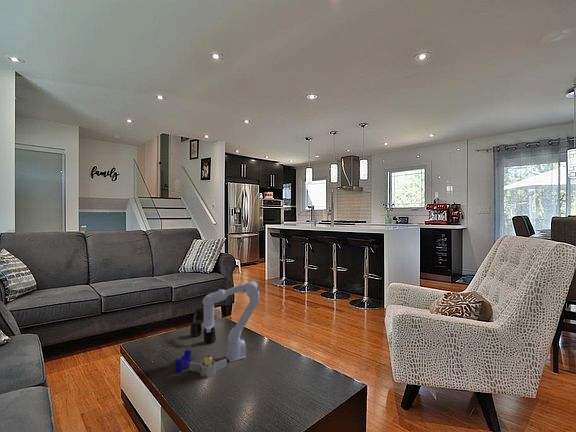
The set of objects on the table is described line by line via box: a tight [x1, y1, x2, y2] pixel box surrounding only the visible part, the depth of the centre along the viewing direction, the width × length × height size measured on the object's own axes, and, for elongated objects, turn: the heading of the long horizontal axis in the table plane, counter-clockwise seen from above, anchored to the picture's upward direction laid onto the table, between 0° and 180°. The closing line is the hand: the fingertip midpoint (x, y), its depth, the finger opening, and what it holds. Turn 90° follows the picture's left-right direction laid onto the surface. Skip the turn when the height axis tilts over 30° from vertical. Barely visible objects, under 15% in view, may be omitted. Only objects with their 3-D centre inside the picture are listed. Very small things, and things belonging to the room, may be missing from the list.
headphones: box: [189, 306, 217, 344], centre depth 200 cm, size 22×6×20 cm, turn 48°
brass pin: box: [203, 355, 213, 366], centre depth 156 cm, size 4×4×8 cm
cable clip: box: [175, 349, 192, 373], centre depth 163 cm, size 12×4×6 cm, turn 174°
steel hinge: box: [189, 358, 228, 378], centre depth 159 cm, size 18×12×5 cm
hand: (208, 340), depth 173 cm, fingers open, 7 cm apart
